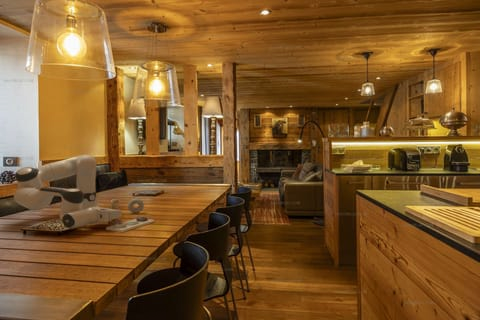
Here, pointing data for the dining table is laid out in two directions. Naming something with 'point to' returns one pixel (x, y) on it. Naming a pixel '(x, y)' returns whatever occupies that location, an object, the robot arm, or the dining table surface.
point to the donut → (140, 207)
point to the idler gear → (114, 206)
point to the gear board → (130, 224)
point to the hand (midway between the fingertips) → (116, 210)
